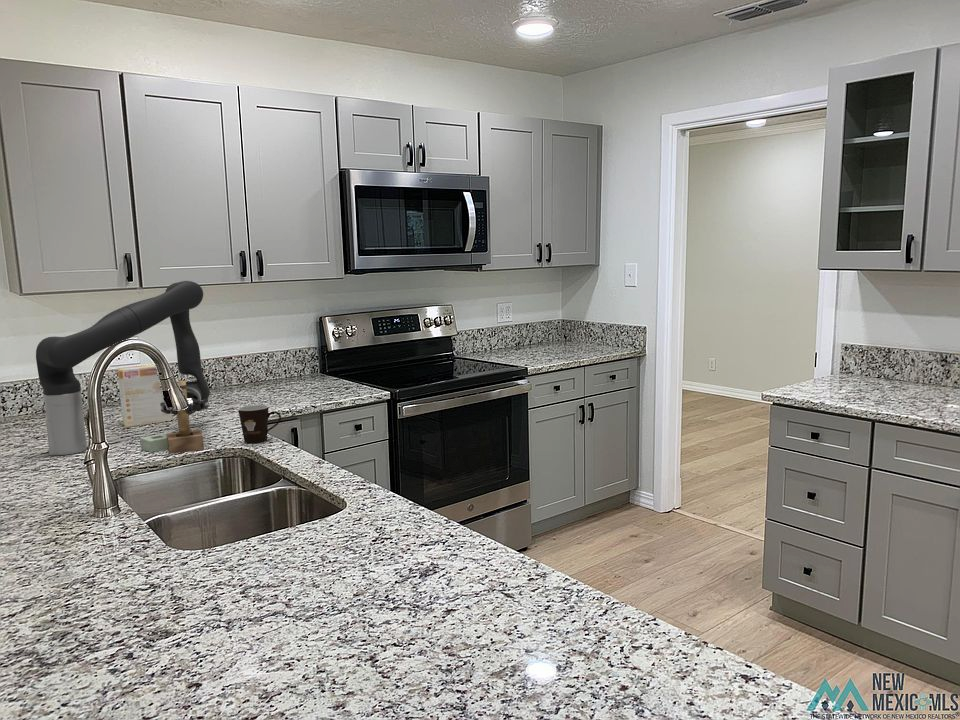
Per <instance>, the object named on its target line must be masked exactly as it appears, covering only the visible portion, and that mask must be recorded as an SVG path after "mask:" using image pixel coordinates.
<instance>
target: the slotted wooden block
mask: <svg viewBox="0 0 960 720" xmlns="http://www.w3.org/2000/svg"><path fill="white" fill-rule="evenodd" d="M165 434H166V435H167V442H168V449H167V450H168V453H169V455H170V454H178V453H179V454H180V453H185V452H193V451H200V450H201V451H202V450H204V449H205V446H204V444H205V443H204V435H203V433H202V431H201V430H200V429H193V430H190V436H182V437H179V431H177V432H170V433H165Z"/></svg>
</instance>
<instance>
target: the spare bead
mask: <svg viewBox="0 0 960 720" xmlns="http://www.w3.org/2000/svg"><path fill="white" fill-rule="evenodd" d="M166 434H167V433H164V432H163V433H160V434H153V435H148V436H143V437H140V438H139V444H140V450H143V449H144V450H143V451H147V452H148V451H149V453H155V452H159V451H164V450H168V442H167V435H166Z"/></svg>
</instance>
